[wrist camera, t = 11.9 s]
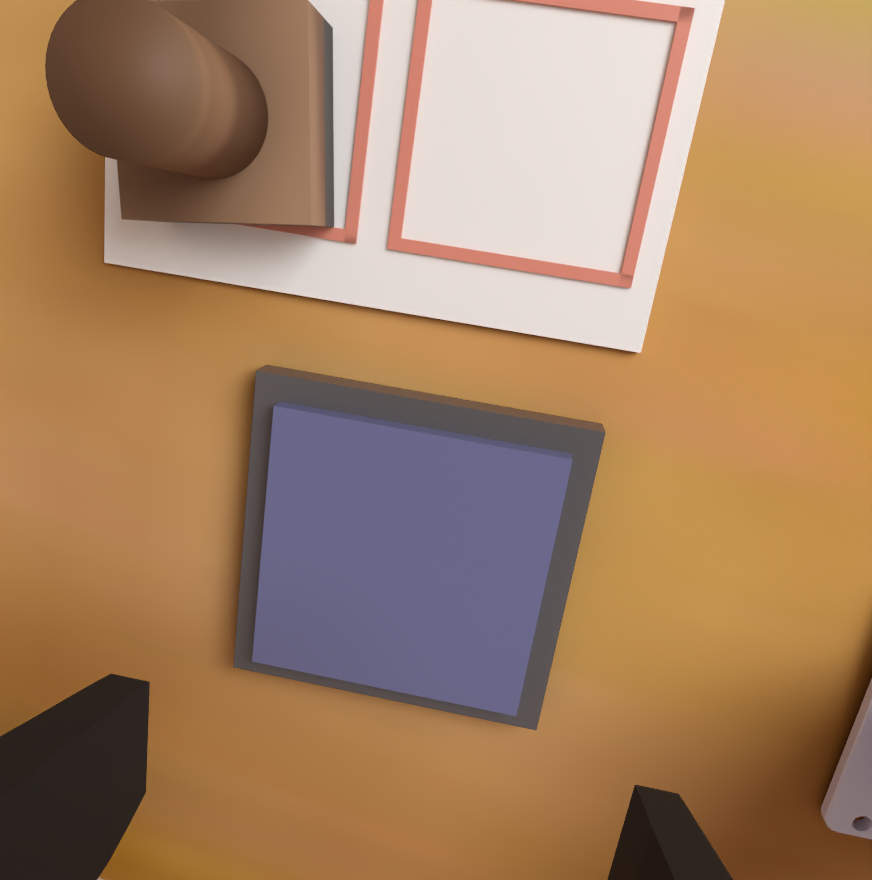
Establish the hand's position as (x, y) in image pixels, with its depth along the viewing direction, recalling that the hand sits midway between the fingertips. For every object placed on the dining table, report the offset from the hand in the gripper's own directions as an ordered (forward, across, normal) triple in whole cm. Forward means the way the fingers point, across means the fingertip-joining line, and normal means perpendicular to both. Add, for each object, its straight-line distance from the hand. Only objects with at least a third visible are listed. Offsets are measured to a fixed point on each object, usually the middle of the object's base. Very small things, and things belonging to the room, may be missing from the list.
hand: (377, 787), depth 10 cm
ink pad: (+10, +1, +1) cm, 10 cm away
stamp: (+10, +6, -9) cm, 15 cm away
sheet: (+10, +3, -10) cm, 14 cm away
